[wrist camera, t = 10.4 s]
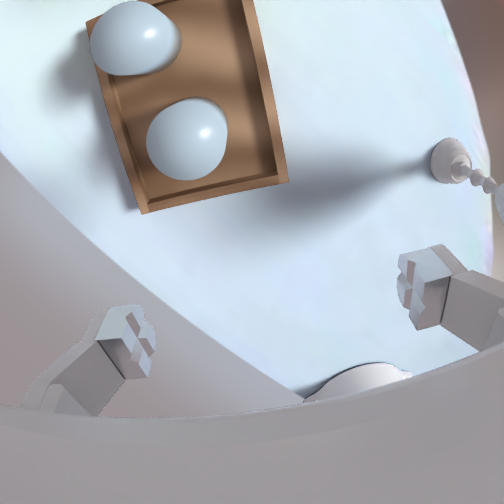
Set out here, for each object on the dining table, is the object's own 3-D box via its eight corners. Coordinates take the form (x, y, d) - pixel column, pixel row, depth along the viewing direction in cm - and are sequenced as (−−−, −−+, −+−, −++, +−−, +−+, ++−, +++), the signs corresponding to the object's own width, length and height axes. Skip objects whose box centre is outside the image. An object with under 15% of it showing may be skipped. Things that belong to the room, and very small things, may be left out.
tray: (285, 174, 28) (289, 182, 26) (147, 205, 28) (141, 214, 27) (245, -20, 18) (246, -27, 16) (95, 24, 19) (85, 22, 17)
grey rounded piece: (220, 89, 23) (216, 94, 18) (234, 149, 25) (233, 170, 20) (158, 106, 23) (137, 116, 18) (174, 163, 26) (158, 188, 21)
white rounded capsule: (188, 63, 21) (174, 60, 16) (127, 82, 22) (98, 86, 16) (174, 7, 19) (157, -10, 13) (114, 28, 19) (83, 19, 14)
